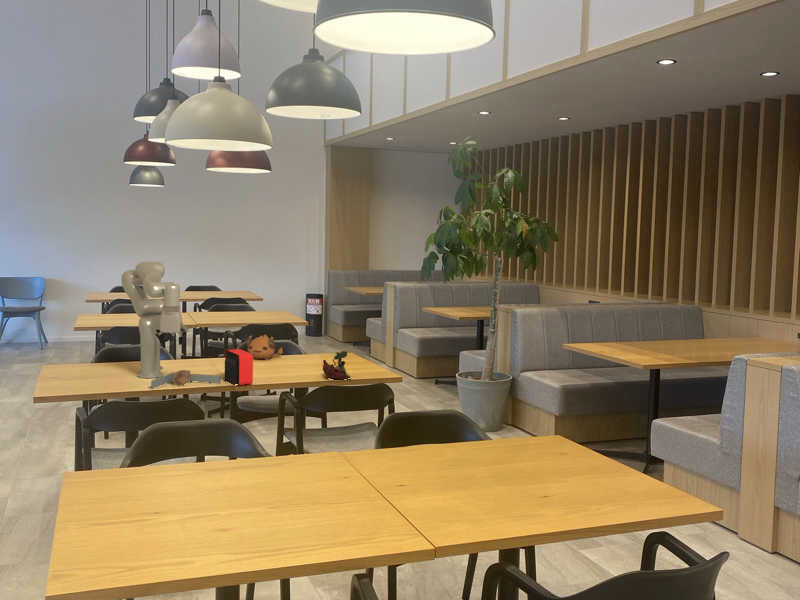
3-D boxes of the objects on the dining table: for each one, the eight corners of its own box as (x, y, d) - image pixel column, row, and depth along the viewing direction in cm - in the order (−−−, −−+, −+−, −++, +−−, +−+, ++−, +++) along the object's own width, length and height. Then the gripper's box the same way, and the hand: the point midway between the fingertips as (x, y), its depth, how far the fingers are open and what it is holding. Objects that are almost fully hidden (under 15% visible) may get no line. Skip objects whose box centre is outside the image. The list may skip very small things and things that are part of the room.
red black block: (235, 387, 375) (235, 355, 374) (220, 379, 392) (221, 349, 391) (253, 385, 381) (253, 354, 379) (238, 378, 397) (239, 348, 396)
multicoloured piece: (351, 381, 396) (351, 353, 395) (322, 381, 395) (322, 353, 394) (350, 376, 411) (351, 349, 409) (322, 376, 409) (323, 348, 408)
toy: (241, 358, 448) (243, 333, 449) (253, 358, 465) (254, 334, 466) (272, 361, 444) (274, 335, 445) (282, 360, 461) (284, 336, 462)
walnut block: (173, 385, 376) (173, 372, 375) (180, 381, 384) (180, 370, 383) (183, 385, 375) (183, 373, 374) (190, 382, 383) (190, 370, 382)
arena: (172, 380, 388) (172, 372, 387) (220, 383, 383) (220, 375, 383) (151, 388, 367) (151, 380, 366) (202, 392, 362) (202, 383, 362)
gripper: (151, 309, 372) (151, 343, 374) (185, 311, 370) (185, 346, 372) (158, 307, 379) (157, 341, 381) (191, 309, 377) (191, 343, 379)
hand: (171, 343), depth 376 cm, fingers open, 9 cm apart
